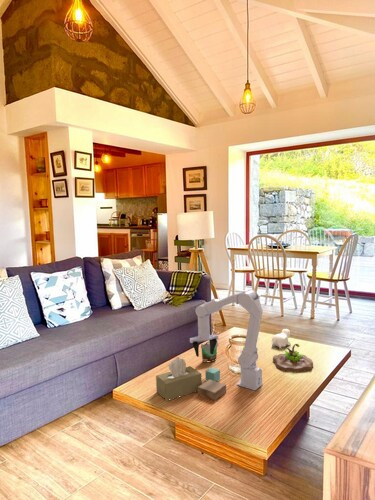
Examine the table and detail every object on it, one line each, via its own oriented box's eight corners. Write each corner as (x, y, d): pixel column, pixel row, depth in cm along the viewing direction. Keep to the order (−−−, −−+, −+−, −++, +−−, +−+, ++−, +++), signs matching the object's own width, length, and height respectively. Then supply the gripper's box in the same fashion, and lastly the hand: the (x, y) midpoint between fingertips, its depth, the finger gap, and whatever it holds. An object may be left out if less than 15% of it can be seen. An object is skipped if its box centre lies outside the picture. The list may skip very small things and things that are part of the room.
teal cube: (220, 379, 173) (219, 369, 173) (214, 383, 169) (214, 373, 169) (211, 377, 176) (211, 367, 176) (205, 380, 172) (205, 370, 172)
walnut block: (226, 393, 160) (226, 384, 160) (214, 401, 153) (214, 392, 153) (209, 387, 166) (209, 379, 166) (198, 395, 159) (197, 386, 159)
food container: (210, 365, 190) (210, 346, 189) (201, 362, 194) (200, 344, 193) (222, 357, 200) (222, 340, 199) (213, 355, 204) (213, 338, 203)
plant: (318, 372, 179) (318, 350, 178) (279, 373, 180) (279, 351, 179) (306, 357, 199) (306, 337, 198) (270, 357, 199) (270, 338, 198)
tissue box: (191, 381, 172) (190, 349, 170) (202, 390, 164) (201, 356, 162) (155, 392, 162) (154, 358, 161) (166, 401, 154) (164, 366, 152)
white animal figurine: (284, 354, 211) (295, 338, 220) (281, 342, 208) (293, 327, 217) (271, 350, 217) (282, 335, 226) (268, 339, 214) (280, 324, 223)
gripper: (214, 324, 184) (214, 350, 185) (187, 327, 180) (188, 354, 181) (219, 328, 178) (220, 354, 179) (192, 331, 173) (192, 359, 174)
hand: (204, 354), depth 179 cm, fingers open, 7 cm apart
